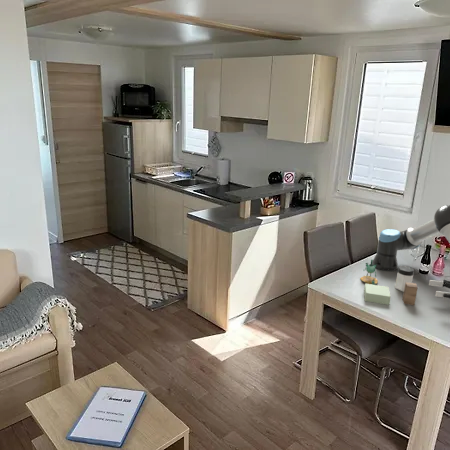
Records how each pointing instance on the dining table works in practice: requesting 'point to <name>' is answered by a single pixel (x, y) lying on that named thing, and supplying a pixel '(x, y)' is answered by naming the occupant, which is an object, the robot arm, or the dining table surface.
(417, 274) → the dining table surface
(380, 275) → the dining table surface
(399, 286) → the jar
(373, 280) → the green insect figurine
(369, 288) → the sage block
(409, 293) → the walnut block
